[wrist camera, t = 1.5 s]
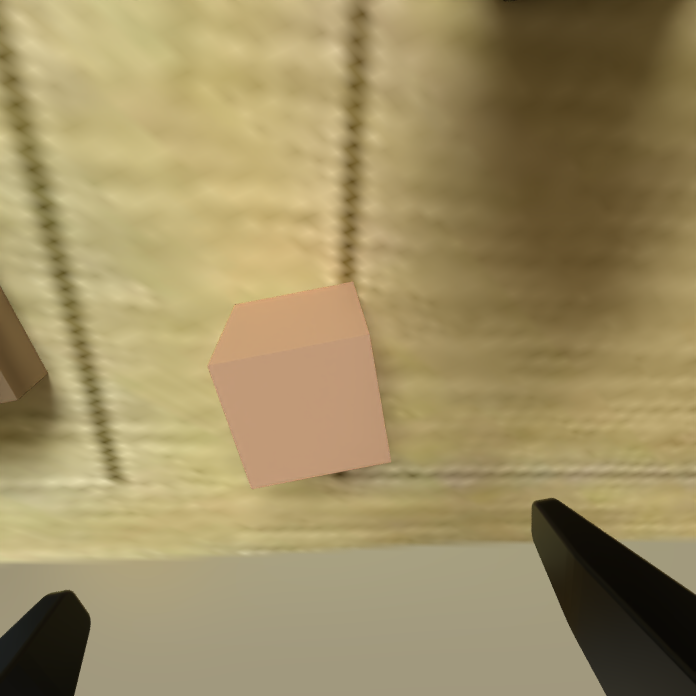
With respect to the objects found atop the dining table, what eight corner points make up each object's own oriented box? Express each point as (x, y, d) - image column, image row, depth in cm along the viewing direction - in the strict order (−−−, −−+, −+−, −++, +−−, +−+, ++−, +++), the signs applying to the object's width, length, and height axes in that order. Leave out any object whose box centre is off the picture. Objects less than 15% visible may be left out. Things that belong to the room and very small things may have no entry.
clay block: (352, 280, 17) (369, 334, 12) (371, 383, 18) (391, 462, 14) (234, 304, 17) (207, 365, 12) (265, 403, 18) (251, 489, 14)
